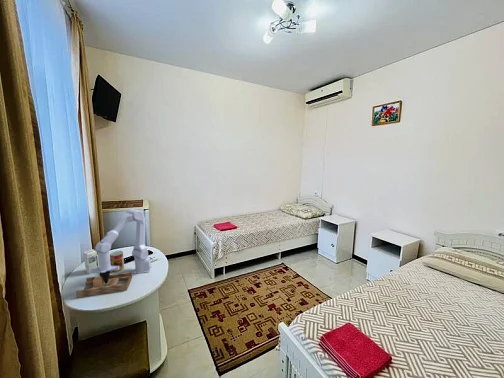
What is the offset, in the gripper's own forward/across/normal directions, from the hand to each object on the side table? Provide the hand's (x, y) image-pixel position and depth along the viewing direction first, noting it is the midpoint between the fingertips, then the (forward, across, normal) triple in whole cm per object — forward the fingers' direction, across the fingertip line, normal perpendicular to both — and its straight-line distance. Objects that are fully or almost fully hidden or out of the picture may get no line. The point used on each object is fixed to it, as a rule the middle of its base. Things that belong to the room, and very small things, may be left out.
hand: (106, 282), depth 131 cm
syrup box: (+3, -16, +23) cm, 28 cm away
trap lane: (+3, 0, 0) cm, 3 cm away
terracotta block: (+1, -4, 0) cm, 4 cm away
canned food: (+3, 0, +21) cm, 21 cm away
